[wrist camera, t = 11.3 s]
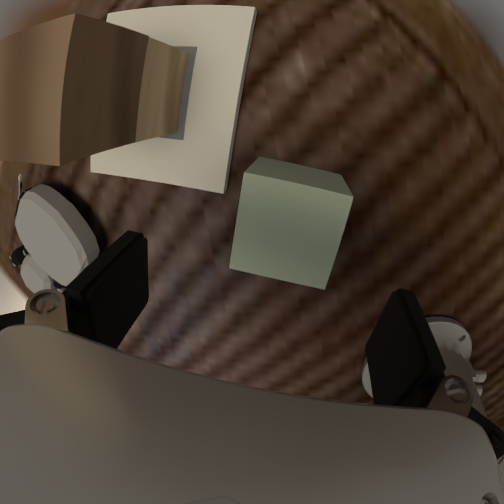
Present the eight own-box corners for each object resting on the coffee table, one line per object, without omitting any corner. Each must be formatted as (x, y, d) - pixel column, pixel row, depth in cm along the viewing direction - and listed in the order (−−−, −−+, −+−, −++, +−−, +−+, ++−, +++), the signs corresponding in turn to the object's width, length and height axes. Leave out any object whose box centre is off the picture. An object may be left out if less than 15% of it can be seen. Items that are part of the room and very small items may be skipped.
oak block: (188, 52, 17) (148, 36, 12) (176, 132, 20) (134, 142, 15) (117, 54, 18) (66, 47, 12) (109, 127, 20) (58, 137, 15)
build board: (257, 11, 16) (254, 6, 15) (226, 190, 23) (222, 194, 22) (114, 15, 17) (106, 13, 16) (97, 169, 24) (89, 172, 22)
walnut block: (149, 36, 12) (75, 13, 7) (135, 142, 15) (59, 166, 9) (67, 46, 12) (-7, 43, 7) (58, 137, 15) (-15, 159, 10)
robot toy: (83, 311, 33) (128, 240, 26) (63, 334, 30) (100, 266, 22) (21, 245, 31) (48, 157, 24) (-2, 263, 27) (14, 171, 20)
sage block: (340, 174, 21) (353, 197, 15) (321, 247, 24) (324, 289, 18) (259, 156, 21) (243, 172, 16) (246, 231, 24) (229, 268, 19)
